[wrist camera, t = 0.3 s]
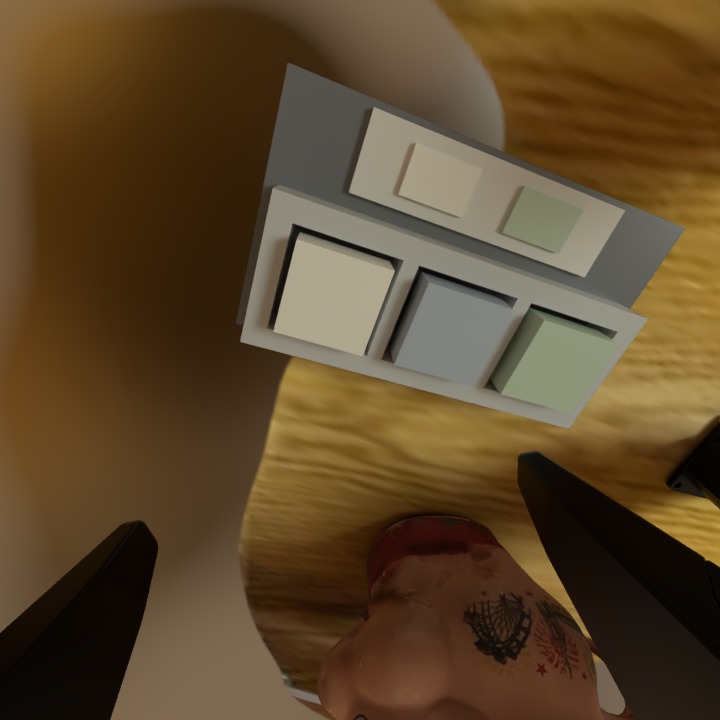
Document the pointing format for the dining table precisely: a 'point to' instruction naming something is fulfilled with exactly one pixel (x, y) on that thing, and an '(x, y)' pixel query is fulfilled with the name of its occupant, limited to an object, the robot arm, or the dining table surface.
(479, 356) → the slate key
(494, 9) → the dining table surface
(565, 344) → the sage key
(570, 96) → the dining table surface
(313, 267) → the ivory key
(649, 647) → the robot arm
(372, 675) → the decorative planter
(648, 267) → the keypad
